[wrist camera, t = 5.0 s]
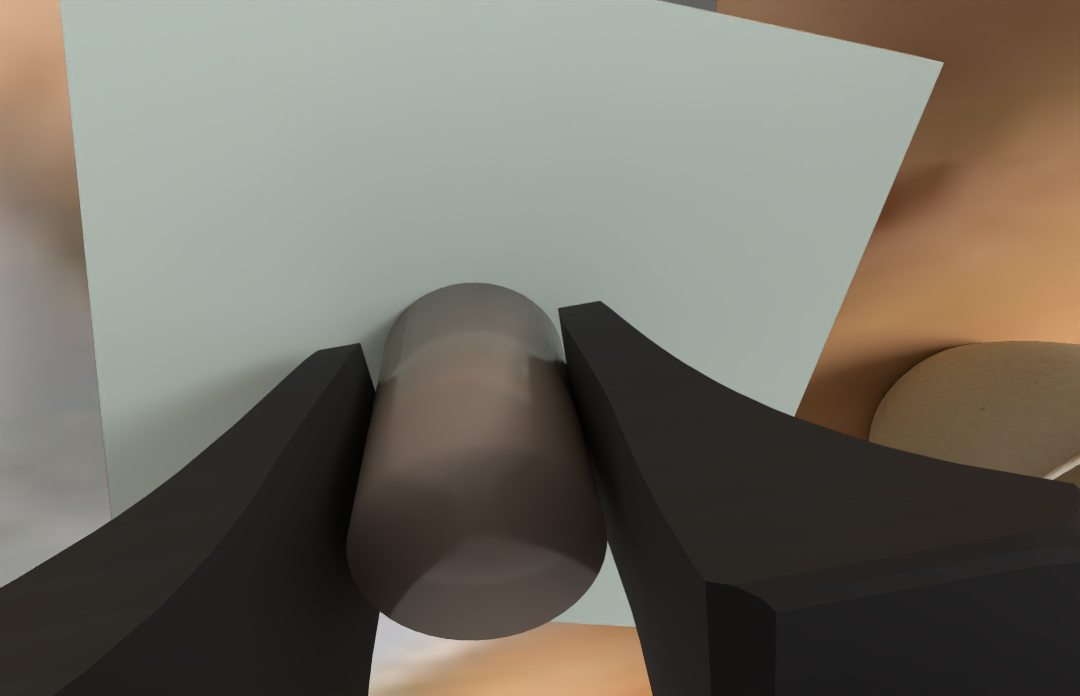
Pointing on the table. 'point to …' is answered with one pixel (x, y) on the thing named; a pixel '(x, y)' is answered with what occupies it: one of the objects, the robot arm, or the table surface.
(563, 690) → the table surface
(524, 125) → the lid
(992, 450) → the flower pot
